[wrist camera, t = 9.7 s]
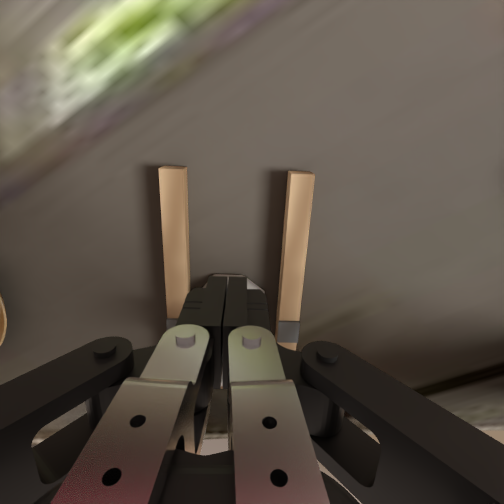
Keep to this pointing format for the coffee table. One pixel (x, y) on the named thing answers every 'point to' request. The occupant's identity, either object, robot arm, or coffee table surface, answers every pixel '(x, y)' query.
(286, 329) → the beam channel
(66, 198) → the coffee table surface
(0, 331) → the plant saucer
